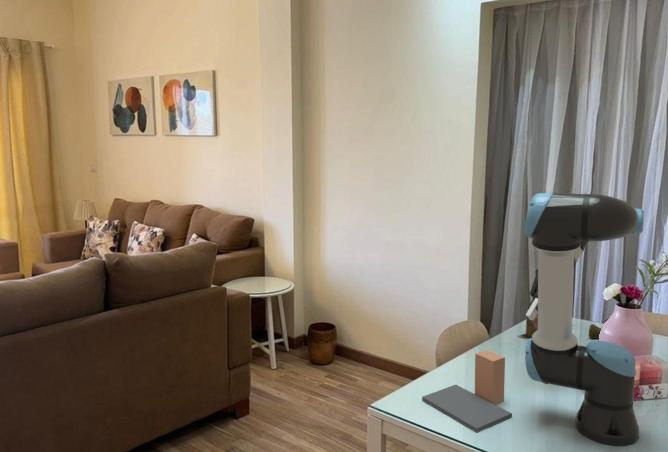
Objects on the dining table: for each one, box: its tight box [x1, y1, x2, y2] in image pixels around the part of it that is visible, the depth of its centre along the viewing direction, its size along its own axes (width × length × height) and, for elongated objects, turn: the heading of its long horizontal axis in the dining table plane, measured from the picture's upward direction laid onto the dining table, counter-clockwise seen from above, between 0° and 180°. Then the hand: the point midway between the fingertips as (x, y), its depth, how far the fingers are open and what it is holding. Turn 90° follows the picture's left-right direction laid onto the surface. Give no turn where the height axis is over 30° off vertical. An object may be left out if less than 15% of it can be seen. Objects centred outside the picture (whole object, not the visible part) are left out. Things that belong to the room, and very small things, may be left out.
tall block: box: [474, 349, 506, 405], centre depth 164 cm, size 7×5×14 cm
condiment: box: [518, 306, 538, 341], centre depth 212 cm, size 7×8×12 cm
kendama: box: [588, 318, 609, 339], centre depth 211 cm, size 6×10×20 cm
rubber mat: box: [421, 384, 513, 433], centre depth 160 cm, size 22×14×1 cm, turn 32°
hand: (529, 317), depth 171 cm, fingers closed
